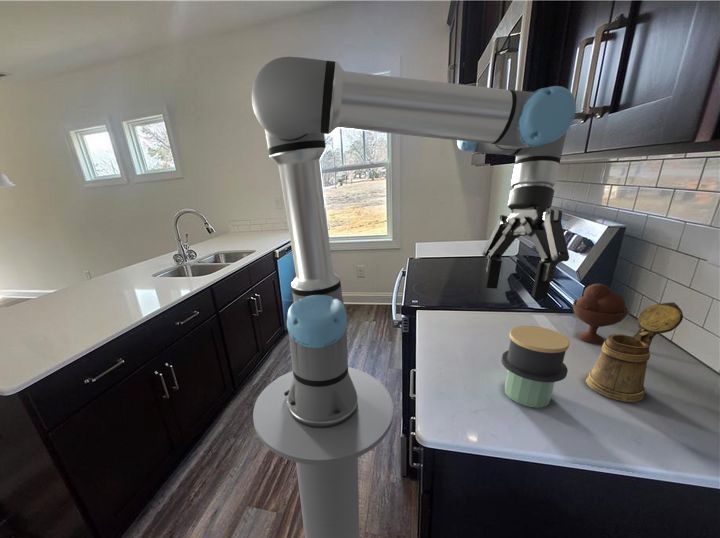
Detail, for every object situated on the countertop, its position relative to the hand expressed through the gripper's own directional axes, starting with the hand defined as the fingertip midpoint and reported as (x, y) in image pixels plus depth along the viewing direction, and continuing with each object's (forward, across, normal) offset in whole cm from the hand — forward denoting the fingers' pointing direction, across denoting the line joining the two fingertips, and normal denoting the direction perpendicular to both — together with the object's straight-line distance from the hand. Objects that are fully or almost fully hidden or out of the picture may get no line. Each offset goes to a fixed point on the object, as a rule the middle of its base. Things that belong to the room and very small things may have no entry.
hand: (512, 292), depth 67 cm
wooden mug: (+18, -7, -24) cm, 30 cm away
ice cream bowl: (+12, +11, -35) cm, 39 cm away
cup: (+20, -5, -3) cm, 21 cm away
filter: (+16, -6, -3) cm, 17 cm away
